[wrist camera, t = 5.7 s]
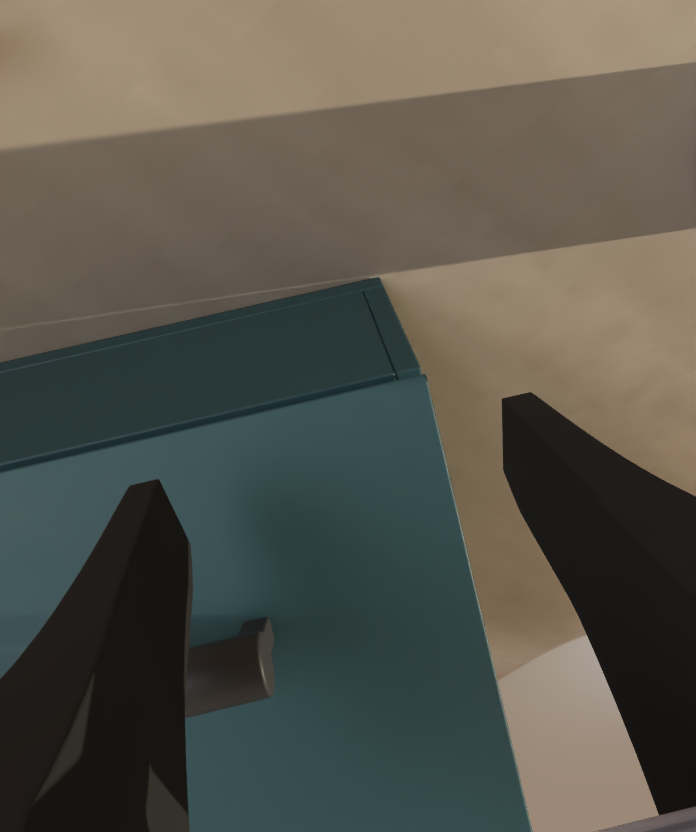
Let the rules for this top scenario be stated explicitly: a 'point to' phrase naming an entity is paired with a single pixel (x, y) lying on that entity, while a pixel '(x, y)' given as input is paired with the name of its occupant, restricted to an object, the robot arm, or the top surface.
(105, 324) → the top surface
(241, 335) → the bin
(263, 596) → the bin lid
